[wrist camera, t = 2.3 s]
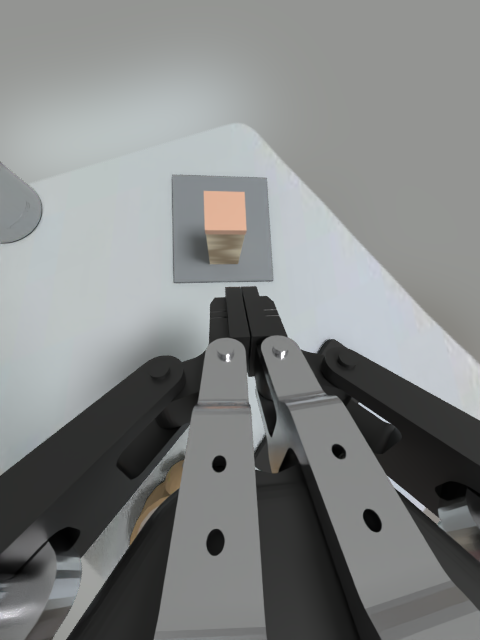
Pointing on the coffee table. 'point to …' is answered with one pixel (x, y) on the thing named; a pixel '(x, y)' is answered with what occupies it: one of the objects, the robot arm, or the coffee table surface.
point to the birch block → (224, 225)
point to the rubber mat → (192, 237)
